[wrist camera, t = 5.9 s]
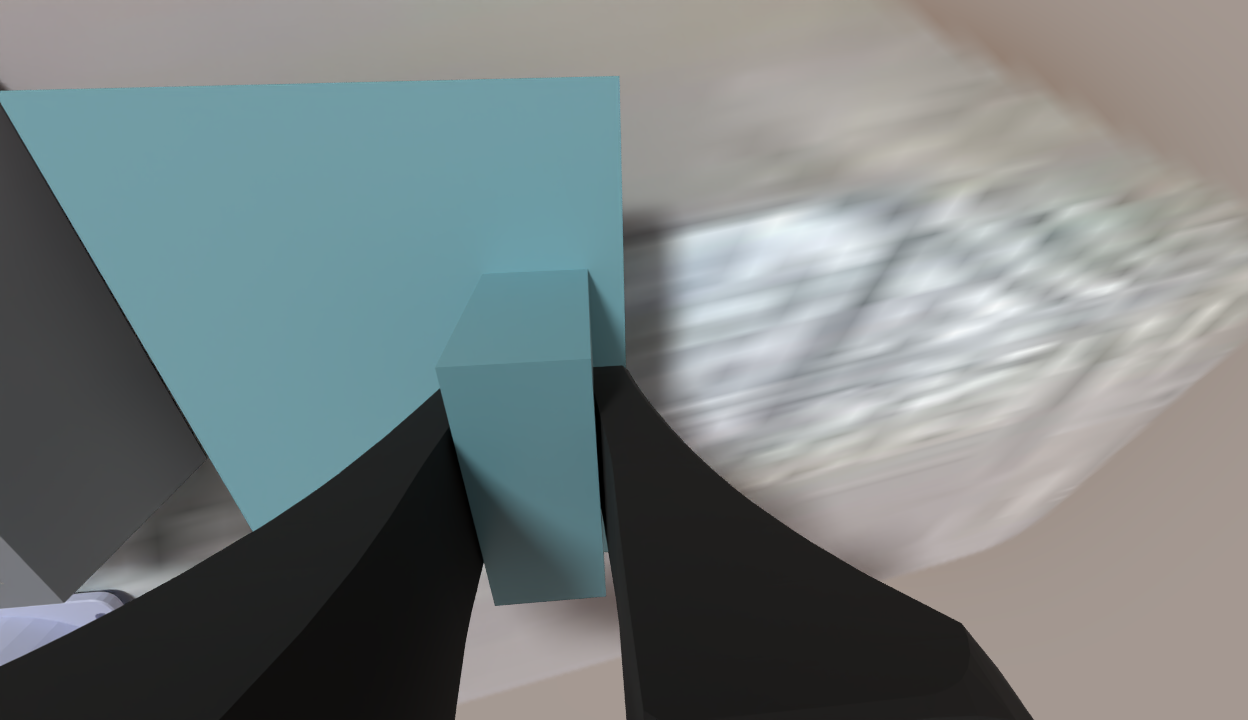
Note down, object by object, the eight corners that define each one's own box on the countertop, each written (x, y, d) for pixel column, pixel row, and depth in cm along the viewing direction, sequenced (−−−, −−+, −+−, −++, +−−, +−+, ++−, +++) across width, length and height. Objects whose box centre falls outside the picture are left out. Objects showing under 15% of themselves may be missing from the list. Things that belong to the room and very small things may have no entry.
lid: (625, 506, 15) (644, 685, 10) (309, 530, 14) (188, 729, 10) (613, 77, 9) (644, 73, 5) (87, 89, 9) (-426, 99, 4)
